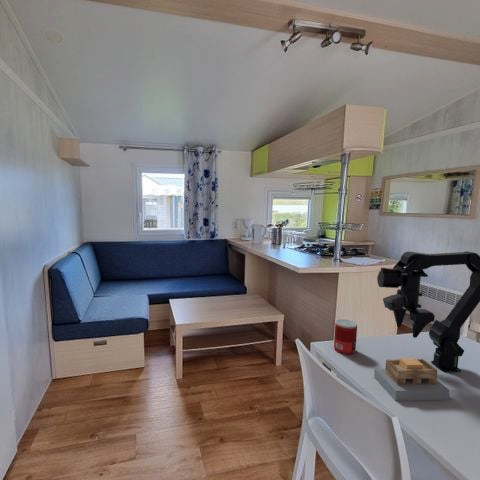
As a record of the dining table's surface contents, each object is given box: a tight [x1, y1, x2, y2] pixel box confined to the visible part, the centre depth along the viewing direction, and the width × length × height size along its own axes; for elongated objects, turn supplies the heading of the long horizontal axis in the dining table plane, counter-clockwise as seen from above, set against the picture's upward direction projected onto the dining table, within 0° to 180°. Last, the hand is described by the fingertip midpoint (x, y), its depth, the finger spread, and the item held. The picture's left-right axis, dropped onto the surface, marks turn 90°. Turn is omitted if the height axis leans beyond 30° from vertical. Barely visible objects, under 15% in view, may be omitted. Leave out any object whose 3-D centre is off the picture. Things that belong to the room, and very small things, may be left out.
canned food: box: [333, 318, 358, 355], centre depth 116 cm, size 8×8×11 cm
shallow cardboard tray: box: [384, 358, 438, 385], centre depth 92 cm, size 12×7×4 cm, turn 93°
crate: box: [399, 357, 423, 369], centre depth 91 cm, size 5×4×2 cm
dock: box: [373, 368, 451, 402], centre depth 92 cm, size 16×12×3 cm
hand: (406, 331), depth 105 cm, fingers open, 9 cm apart
